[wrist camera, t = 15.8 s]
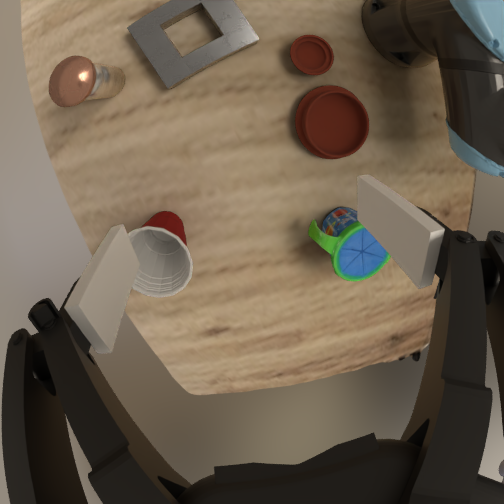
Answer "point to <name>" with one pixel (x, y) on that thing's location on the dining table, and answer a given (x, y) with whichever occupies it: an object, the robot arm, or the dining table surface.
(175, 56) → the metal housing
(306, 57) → the pottery
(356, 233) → the snack cup
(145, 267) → the plastic cup
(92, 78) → the silver copper-capped cylinder
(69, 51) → the dining table surface
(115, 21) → the dining table surface
